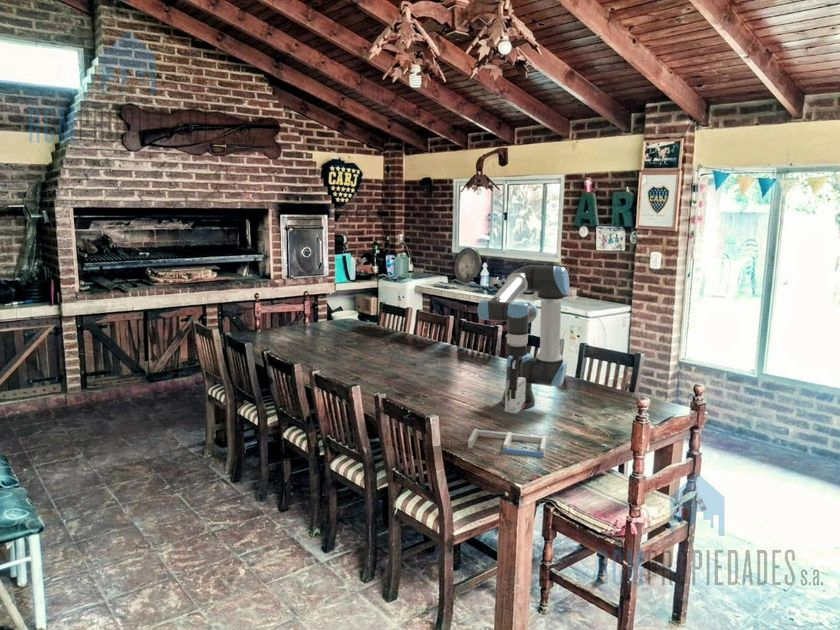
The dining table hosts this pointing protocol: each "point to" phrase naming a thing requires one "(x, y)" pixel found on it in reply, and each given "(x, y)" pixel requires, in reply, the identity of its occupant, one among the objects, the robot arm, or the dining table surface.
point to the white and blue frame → (508, 439)
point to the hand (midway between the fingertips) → (515, 402)
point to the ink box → (520, 396)
